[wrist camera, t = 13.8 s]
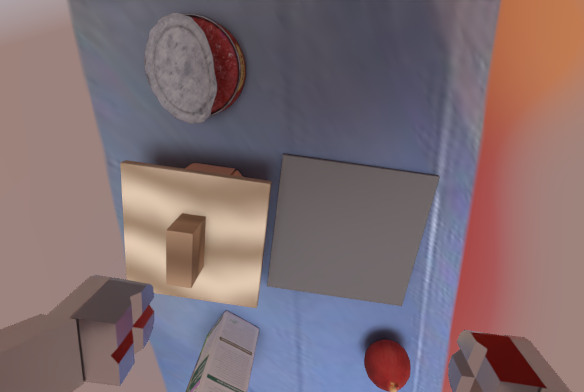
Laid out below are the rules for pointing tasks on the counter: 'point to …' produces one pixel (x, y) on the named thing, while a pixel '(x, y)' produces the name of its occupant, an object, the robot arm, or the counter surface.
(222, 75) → the canned food
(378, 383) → the onion
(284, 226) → the mat
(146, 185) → the lid
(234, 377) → the syrup box
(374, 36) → the counter surface
